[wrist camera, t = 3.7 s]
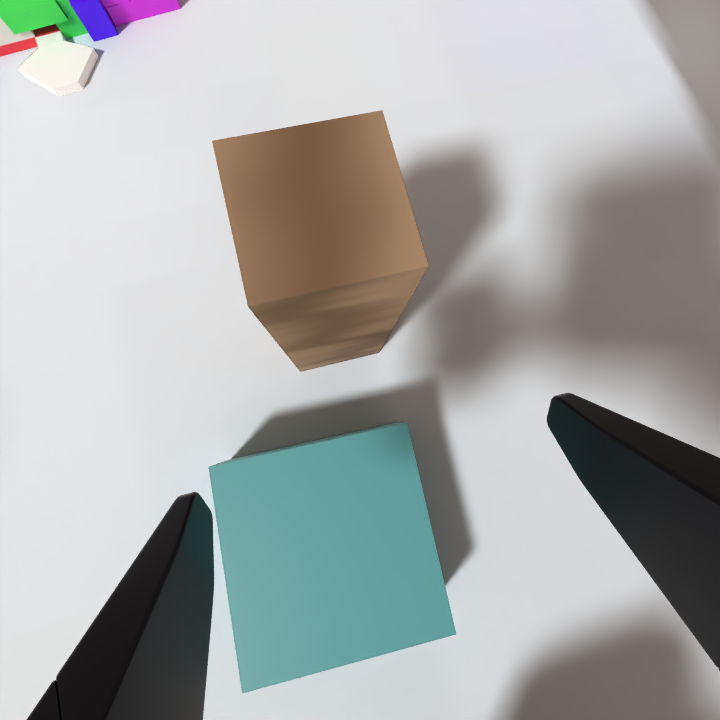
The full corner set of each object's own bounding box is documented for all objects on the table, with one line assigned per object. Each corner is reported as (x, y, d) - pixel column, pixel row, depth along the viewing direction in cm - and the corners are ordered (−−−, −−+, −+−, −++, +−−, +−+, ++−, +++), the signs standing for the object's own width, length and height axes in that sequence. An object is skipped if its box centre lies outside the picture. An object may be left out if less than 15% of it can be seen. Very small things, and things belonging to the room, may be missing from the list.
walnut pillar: (359, 278, 24) (382, 110, 11) (379, 352, 23) (428, 266, 10) (282, 295, 23) (212, 140, 10) (300, 371, 22) (248, 306, 10)
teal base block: (395, 422, 23) (407, 422, 19) (434, 594, 21) (456, 634, 17) (232, 458, 22) (208, 466, 18) (261, 640, 20) (242, 693, 16)
